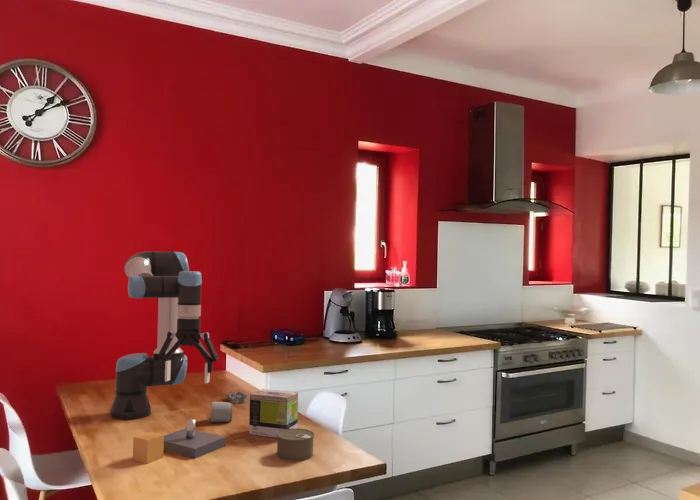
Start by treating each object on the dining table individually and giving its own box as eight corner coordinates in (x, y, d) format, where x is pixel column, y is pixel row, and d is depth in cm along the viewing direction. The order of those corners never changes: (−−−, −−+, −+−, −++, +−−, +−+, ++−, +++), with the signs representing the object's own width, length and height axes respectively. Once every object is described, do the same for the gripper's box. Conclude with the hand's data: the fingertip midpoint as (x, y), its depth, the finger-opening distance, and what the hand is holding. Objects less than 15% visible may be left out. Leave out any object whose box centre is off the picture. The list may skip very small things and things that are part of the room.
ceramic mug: (232, 424, 217) (233, 403, 218) (210, 424, 215) (210, 404, 216) (231, 416, 228) (232, 397, 228) (210, 417, 226) (211, 397, 226)
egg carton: (225, 399, 255) (225, 390, 255) (242, 397, 258) (242, 388, 258) (232, 404, 245) (232, 395, 245) (249, 403, 249) (249, 393, 249)
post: (183, 438, 190) (184, 420, 190) (190, 435, 193) (191, 418, 193) (190, 439, 188) (191, 421, 189) (197, 437, 191) (197, 419, 191)
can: (290, 446, 194) (291, 426, 194) (320, 453, 188) (321, 432, 188) (268, 456, 183) (269, 435, 184) (299, 464, 177) (300, 442, 177)
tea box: (298, 432, 210) (299, 391, 210) (286, 440, 200) (287, 397, 200) (261, 427, 214) (262, 387, 215) (248, 434, 205) (249, 393, 205)
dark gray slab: (154, 447, 189) (154, 438, 189) (186, 436, 201) (186, 428, 201) (195, 458, 180) (195, 448, 180) (225, 446, 192) (225, 437, 192)
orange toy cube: (132, 459, 178) (133, 436, 178) (149, 453, 183) (149, 431, 183) (147, 463, 175) (147, 440, 175) (163, 457, 180) (164, 435, 180)
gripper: (147, 317, 188) (146, 382, 188) (221, 319, 185) (219, 385, 185) (157, 315, 196) (156, 377, 195) (228, 317, 193) (227, 380, 193)
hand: (187, 381), depth 190 cm, fingers open, 13 cm apart
